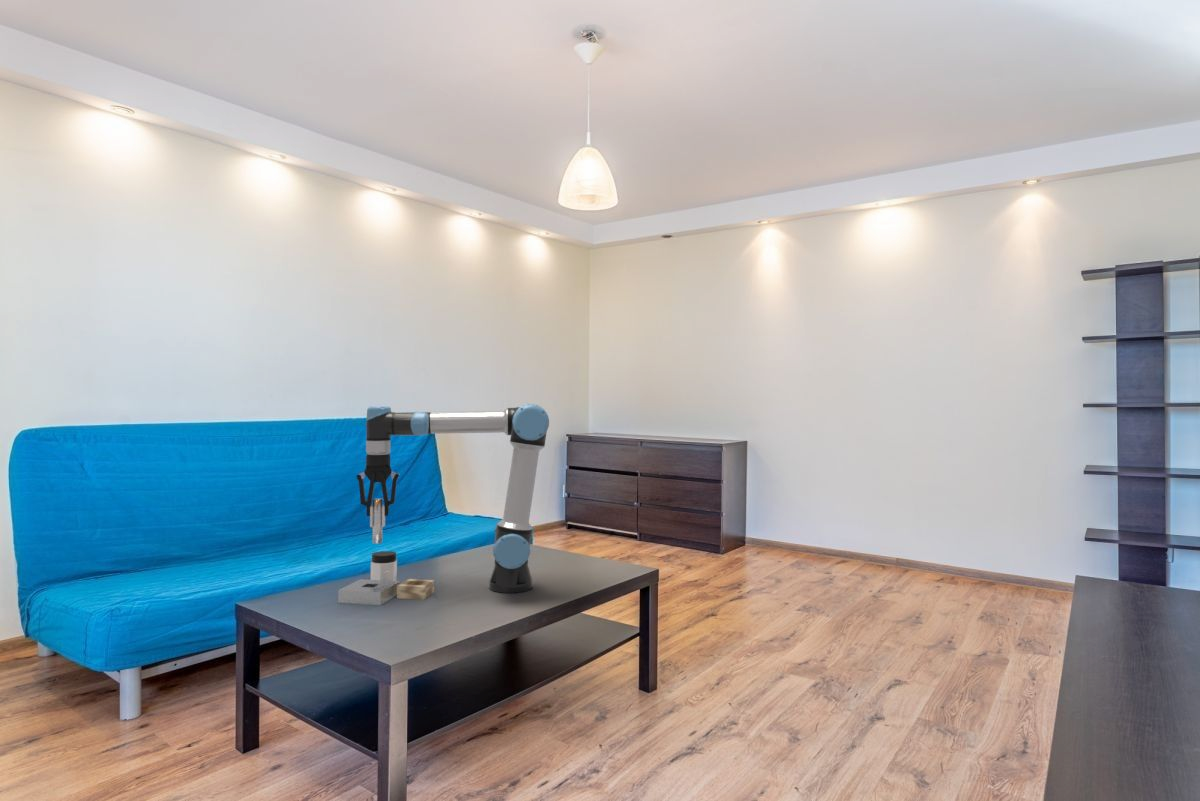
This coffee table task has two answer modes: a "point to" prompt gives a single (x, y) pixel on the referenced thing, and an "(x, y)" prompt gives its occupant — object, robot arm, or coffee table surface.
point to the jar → (384, 566)
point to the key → (377, 520)
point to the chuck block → (368, 592)
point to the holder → (415, 589)
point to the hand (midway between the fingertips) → (377, 526)
